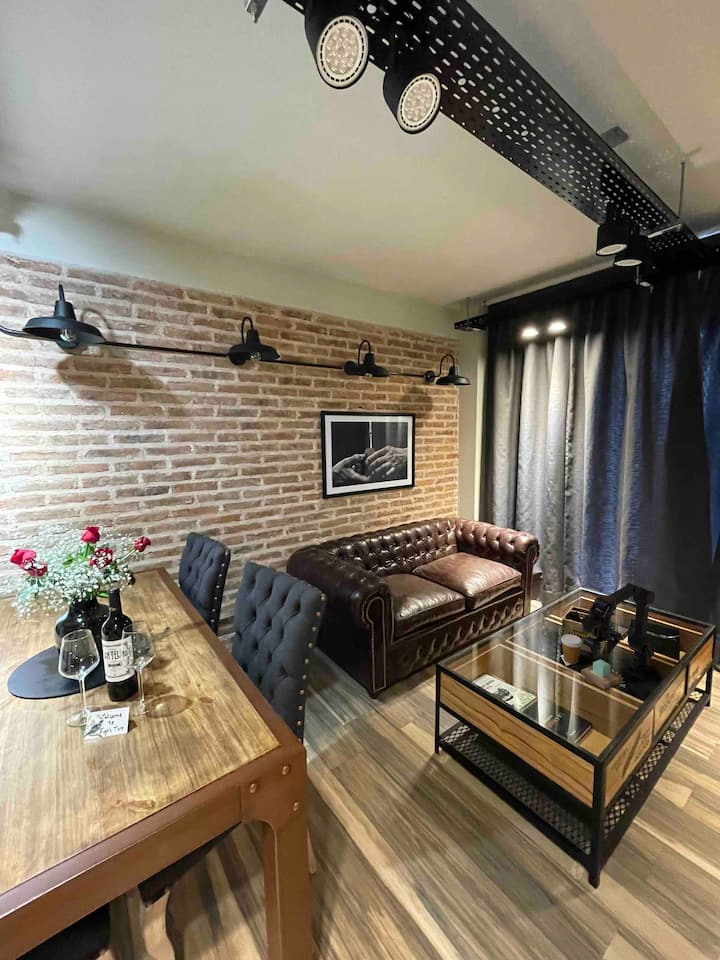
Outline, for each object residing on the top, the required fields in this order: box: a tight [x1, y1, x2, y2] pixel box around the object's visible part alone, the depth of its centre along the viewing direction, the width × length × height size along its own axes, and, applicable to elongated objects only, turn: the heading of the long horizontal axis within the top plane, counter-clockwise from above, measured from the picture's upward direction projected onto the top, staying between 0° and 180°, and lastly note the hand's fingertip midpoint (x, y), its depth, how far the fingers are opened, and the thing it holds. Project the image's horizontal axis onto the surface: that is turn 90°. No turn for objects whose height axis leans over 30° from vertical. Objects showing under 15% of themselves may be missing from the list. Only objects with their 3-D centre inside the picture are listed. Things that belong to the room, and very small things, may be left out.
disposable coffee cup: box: [560, 633, 583, 665], centre depth 203 cm, size 10×10×12 cm
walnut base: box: [580, 664, 624, 691], centre depth 189 cm, size 12×12×2 cm
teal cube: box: [592, 659, 612, 678], centre depth 189 cm, size 5×5×5 cm
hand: (601, 655), depth 187 cm, fingers open, 9 cm apart
